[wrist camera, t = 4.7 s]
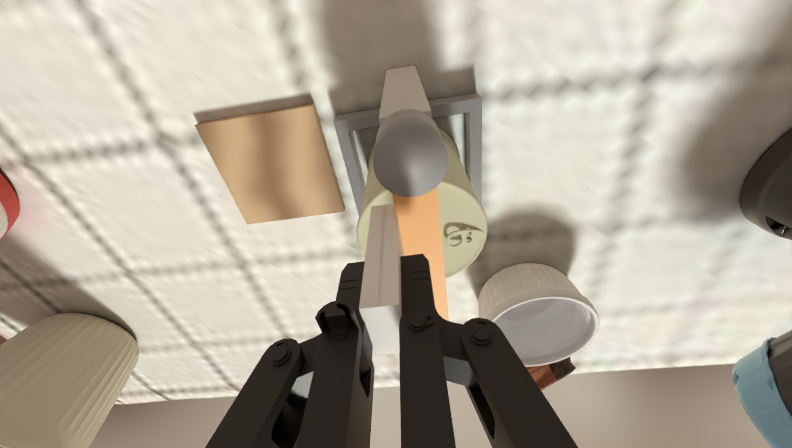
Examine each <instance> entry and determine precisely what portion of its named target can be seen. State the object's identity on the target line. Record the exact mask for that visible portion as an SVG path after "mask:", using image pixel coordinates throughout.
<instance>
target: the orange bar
mask: <svg viewBox="0 0 792 448" xmlns="http://www.w3.org/2000/svg"><path fill="white" fill-rule="evenodd" d="M447 168H448V154H447V150H446V147H445V145H444V142H443V139H442V137H441V134H440V131H439V128H438V126H437V124H436V123H435V121H434V120H433V119H432V118H431V117H430V116H429V115H427V114H426V113H424V112H422V111H419V110H415V109H404V110H399V111H397V112H394V113H393V114H391V115H390V116H388V117H387V118H386V119H385V120H384V121H383V122H382V124H381V126H380V127H379V130H378V133H377V137H376V144H375V150H374V157H373V169H374V173H375V176H376V178H377V180H378V181H379V183H380V184H381V185H382V186H383V187H384V188H385V189H386V190H388V191H389V192H391V193H392V197H393V203H394V208H395V213H396V218H398V222H399V228H400V233H401V238H402V243H403V249H404V254H405V256H407V255H415V254H424V256H425V257H426V258H427V259H428V261H429V266H430V274H431V281H432V288H433V295H434V302H435V308H436V311H437V312H438V314H439V315H440V316H441V317H442V318H443V319H445V320H447V321H449V319H448V307H447V296H446V284H445V273H444V261H443V250H442V239H441V227H440V216H439V204H438V193H437V186H438V185H439V184H440V182H441V181H442V180H443V178H444V176H445V174H446V172H447Z"/></svg>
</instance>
